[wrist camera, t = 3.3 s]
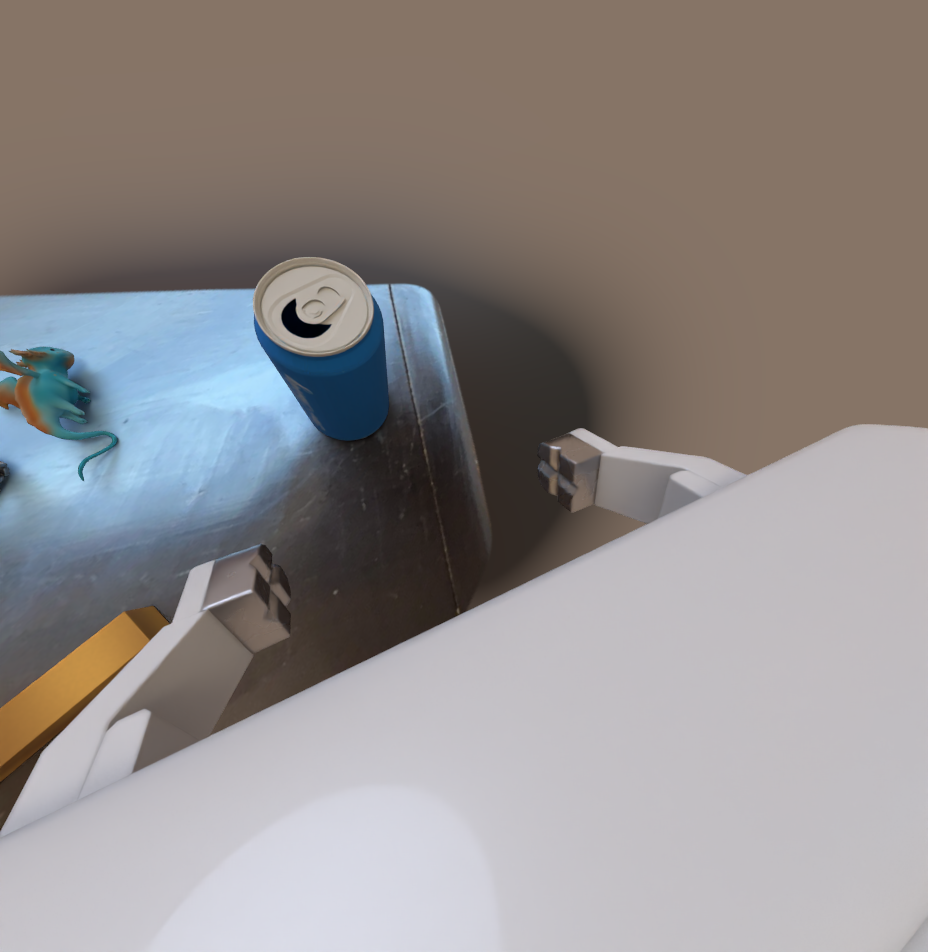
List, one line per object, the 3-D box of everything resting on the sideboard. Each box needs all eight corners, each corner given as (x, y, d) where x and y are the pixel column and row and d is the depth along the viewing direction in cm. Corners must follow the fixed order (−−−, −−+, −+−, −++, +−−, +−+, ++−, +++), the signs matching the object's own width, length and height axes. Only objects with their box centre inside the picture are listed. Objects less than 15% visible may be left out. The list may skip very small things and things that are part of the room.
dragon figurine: (172, 390, 24) (36, 307, 21) (77, 463, 20) (-114, 371, 17) (167, 429, 29) (54, 365, 26) (88, 496, 24) (-61, 428, 21)
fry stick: (153, 605, 22) (123, 611, 20) (178, 632, 22) (151, 641, 20) (-116, 820, 18) (-196, 861, 15) (-87, 855, 18) (-163, 902, 15)
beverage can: (291, 412, 27) (210, 306, 15) (343, 358, 29) (305, 228, 17) (356, 458, 27) (325, 388, 15) (404, 401, 29) (407, 301, 17)
